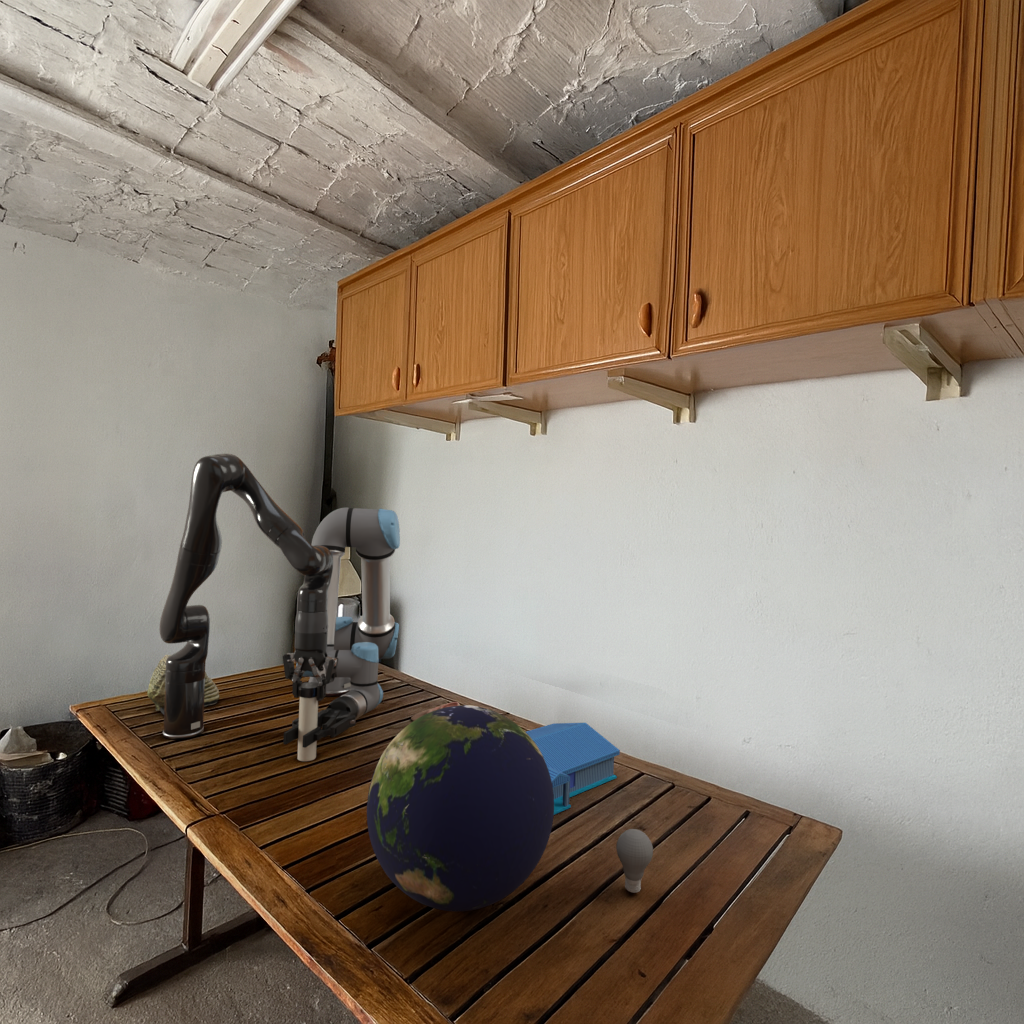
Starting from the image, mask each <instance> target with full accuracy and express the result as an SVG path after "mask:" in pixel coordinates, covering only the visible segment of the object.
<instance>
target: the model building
mask: <svg viewBox="0 0 1024 1024" xmlns="http://www.w3.org/2000/svg"><path fill="white" fill-rule="evenodd" d="M525 732H526V733H527V734H528V735H529V736H530V737H531V739H532V740H533V741H534V742H535V744H536V745H537V747H538V748H539V750H540V752H541V753H542V755H543V757H544V760H545V763H546V765H547V767H548V770H549V774H550V777H551V782H552V786H553V794H554V816H555V815H557V814H559V813H562V812H563V811H566V810H569V809H571V808H572V805H571V804H570V798H572V797H575V796H577V795H580V794H582V793H585V792H587V791H589V790H591V789H594V788H597V787H599V786H601V785H603V784H605V783H609V782H610V781H613V780H615V779H617V778H618V776H617V775H616V774H614V771H615V770H614V768H615V767H614V765H615V757H617V756H620V754H621V750H620V749H619V748H618V747H617V746H616V745H614V744H613V743H612V742H611V741H610V740H607V738H605V737H604V736H603V735H601V734H600V733H599V732H598V731H597V730H596V729H594V728H593V727H592V726H591V725H589V724H588V723H587V722H560V723H559V722H558V723H555V722H554V723H550V724H546V725H544V726H543V725H542V726H540V727H537V728H533V729H530V730H526V731H525Z"/></svg>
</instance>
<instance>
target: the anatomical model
mask: <svg viewBox="0 0 1024 1024" xmlns="http://www.w3.org/2000/svg"><path fill="white" fill-rule="evenodd" d="M451 706H461V705H460V703H459V702H458V701H452V702H451V701H450V702H447V703H445V704H440V705H438V706H436V707H432V708H429V709H426V710H423V711H419V712H418V713H415V714H414V715H412V716H411V717H410V720H411V721H412V722H413V721H415V720H416V719H418V718H419V717H421V716H423V715H425V714H427V713H430V712H432V711H435V710H438V709H441V708H445V707H451Z"/></svg>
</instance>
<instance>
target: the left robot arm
mask: <svg viewBox="0 0 1024 1024" xmlns="http://www.w3.org/2000/svg"><path fill="white" fill-rule="evenodd" d="M230 491H231V492H232V493H234V494H235V495H237V496H238V497H239V498H240V499H242V500H243V501H244V503H245V504H246V505H247V507H248V508H249V509H250V511H251V514H252V516H253V520H254V521H255V523H256V525H257V528H258V529H259V530H260V531H261V532H262V534H263V535H264V536H266V538H267V539H269V540H270V541H271V542H272V543H273V544H274V545H275V546H276V547H277V548H278V549H280V552H281V553H282V554H283V556H284V557H285V559H286V560H287V562H288V563H289V564H290V566H291V567H292V568H293V569H294V570H295V571H296V572H297V573H299V574H300V575H301V576H304V579H303V584H302V585H301V586H300V587H299V588H298V591H297V600H296V615H295V622H294V623H295V624H294V625H295V626H294V649H295V650H294V652H287V653H285V654H282V662H283V663H282V664H283V670H284V678H285V679H286V680H290V681H291V682H292V690H291V691H292V692H291V693H292V695H293V698H295V699H298V698H300V697H299V696H298V686H299V684H302V683H303V680H302V679H303V674H304V672H305V671H310V672H313V674H314V677H316V679H317V682H318V686H317V701H318V702H321V701H323V700H324V698H326V697H327V696H326V684H329V683H330V682H332V681H334V679H335V674H336V670H337V665H338V658H337V657H336V658H331V657H328V655H327V652H326V649H327V637H328V613H327V608H328V589H329V585H330V581H331V577H332V572H333V556H332V553H331V552H330V550H329V549H328V548H327V547H325V546H321V545H317V546H312V545H311V544H312V543H310V542H309V541H308V540H307V539H306V537H305V531H304V530H303V528H302V527H301V526H300V525H299V524H298V523H297V522H296V521H295V520H294V519H293V518H292V517H290V516H289V515H288V514H287V513H286V512H285V511H284V510H283V509H282V508H281V507H280V506H279V505H278V504H277V503H276V502H275V500H274V499H273V498H272V497H271V496H270V495H269V493H268V491H266V490H265V488H264V487H263V486H262V484H261V483H260V482H259V481H258V479H257V478H256V476H255V475H254V473H252V471H251V470H250V469H249V468H248V466H247V464H246V463H245V462H243V460H242V459H241V458H240V457H239V456H237V455H235V454H233V453H218V454H211V455H210V454H209V455H205V456H202V457H200V458H199V459H198V460H197V461H196V462H195V464H194V467H193V469H192V474H191V483H190V492H189V502H188V508H187V514H186V518H185V524H184V529H183V533H182V536H181V540H180V544H179V548H178V554H177V558H176V563H175V569H174V573H173V578H172V581H171V585H170V588H169V591H168V594H167V596H166V600H165V604H164V606H163V609H162V612H161V616H160V619H159V629H158V630H159V636H160V638H161V641H163V642H164V643H165V644H170V645H172V644H183V643H186V644H185V645H184V646H183V647H182V648H181V649H179V650H178V651H176V652H174V653H172V654H169V655H170V656H169V657H168V658H167V660H166V674H165V705H164V708H160V712H161V714H162V715H163V730H162V737H164V738H166V739H169V740H185V739H190V738H191V739H192V738H194V737H197V736H199V735H202V734H203V732H204V730H205V729H204V727H205V725H204V722H205V721H204V718H205V706H204V693H205V672H206V664H207V663H206V662H207V658H208V653H209V642H210V640H209V639H210V631H211V617H210V613H209V610H208V609H207V607H206V606H205V605H203V604H192V605H191V604H190V605H188V603H189V601H190V600H191V597H192V596H193V595H194V593H195V592H196V591H197V590H198V589H199V588H200V587H201V586H202V585H203V584H204V583H205V581H206V580H208V578H210V576H211V575H213V573H214V571H215V570H216V568H217V566H218V563H219V559H220V555H221V551H222V547H223V546H222V545H223V536H222V533H221V529H220V526H219V523H218V520H217V513H218V507H219V504H220V500H221V497H222V494H223V493H226V492H230ZM295 662H296V664H297V666H295ZM325 662H327V666H328V668H327V673H326V670H325V667H324V663H325ZM318 670H319V671H318ZM325 673H326V674H325Z"/></svg>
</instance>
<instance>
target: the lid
mask: <svg viewBox="0 0 1024 1024" xmlns="http://www.w3.org/2000/svg"><path fill="white" fill-rule="evenodd" d="M317 686H318V683H316V682H309V681H308V682H307V681H306V682H302V684H299V686H298V696H299V697H298V698H300V697H303V698H312V697H317Z"/></svg>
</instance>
